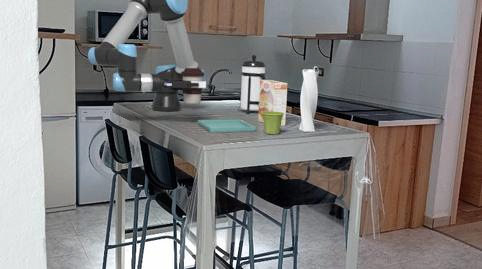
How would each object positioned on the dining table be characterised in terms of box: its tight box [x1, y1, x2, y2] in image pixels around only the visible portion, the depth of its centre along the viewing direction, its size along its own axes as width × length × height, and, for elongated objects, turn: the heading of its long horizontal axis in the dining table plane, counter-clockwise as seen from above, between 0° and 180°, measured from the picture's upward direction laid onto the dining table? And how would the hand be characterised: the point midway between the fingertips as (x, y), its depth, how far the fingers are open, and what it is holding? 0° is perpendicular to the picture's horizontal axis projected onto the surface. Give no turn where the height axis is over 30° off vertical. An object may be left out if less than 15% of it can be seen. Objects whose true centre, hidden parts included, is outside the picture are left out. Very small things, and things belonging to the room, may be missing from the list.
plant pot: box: [261, 111, 284, 135], centre depth 206 cm, size 9×9×9 cm
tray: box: [197, 119, 257, 133], centre depth 215 cm, size 20×20×2 cm
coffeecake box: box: [257, 79, 288, 127], centre depth 230 cm, size 15×7×20 cm, turn 23°
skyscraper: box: [296, 65, 320, 133], centre depth 213 cm, size 8×8×28 cm
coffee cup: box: [181, 67, 204, 105], centre depth 217 cm, size 10×10×15 cm
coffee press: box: [237, 54, 267, 114], centre depth 262 cm, size 17×16×30 cm
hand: (202, 83), depth 218 cm, fingers closed on coffee cup, 9 cm apart
